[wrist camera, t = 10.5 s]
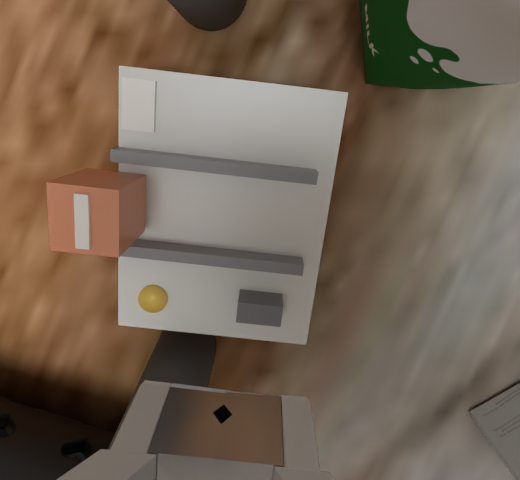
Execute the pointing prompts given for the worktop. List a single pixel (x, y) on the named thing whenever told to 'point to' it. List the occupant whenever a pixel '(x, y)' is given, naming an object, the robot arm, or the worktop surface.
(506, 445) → the skincare box
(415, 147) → the worktop surface
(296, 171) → the panel
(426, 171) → the worktop surface
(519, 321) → the worktop surface
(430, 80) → the soya milk
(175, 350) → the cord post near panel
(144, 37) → the worktop surface
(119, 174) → the block
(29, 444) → the muzzle brake
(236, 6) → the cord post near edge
